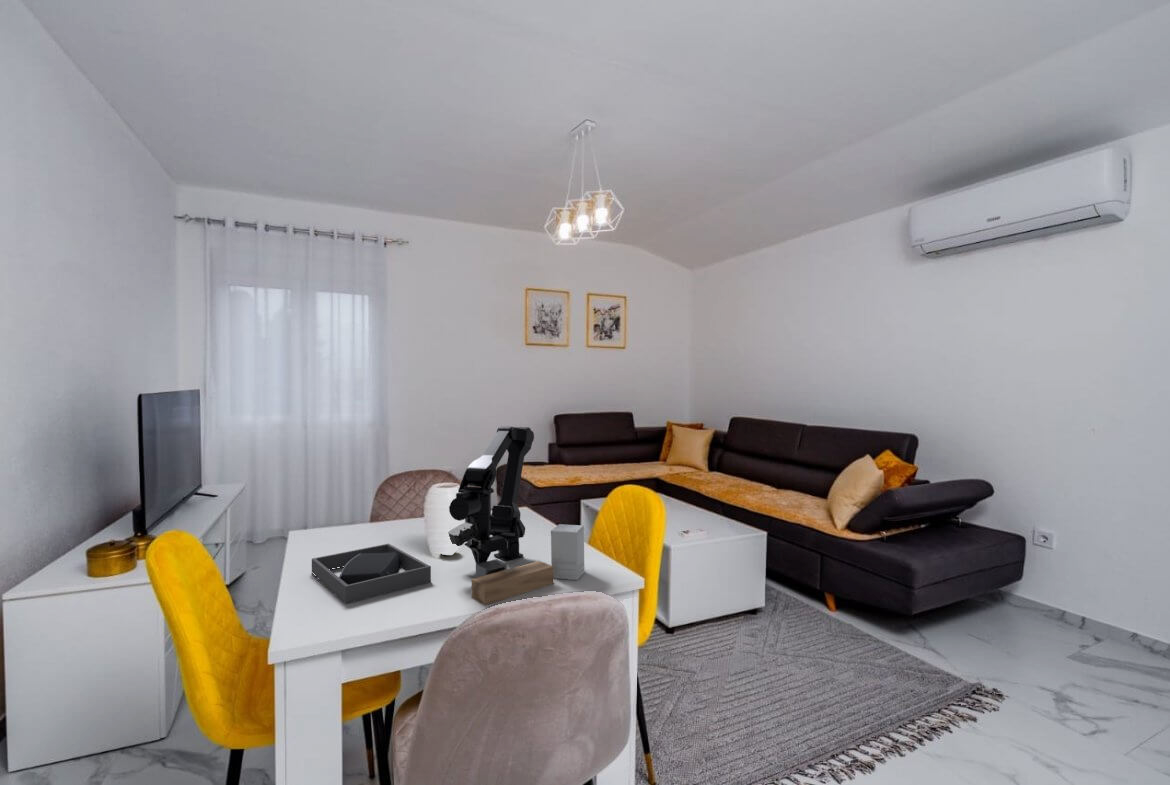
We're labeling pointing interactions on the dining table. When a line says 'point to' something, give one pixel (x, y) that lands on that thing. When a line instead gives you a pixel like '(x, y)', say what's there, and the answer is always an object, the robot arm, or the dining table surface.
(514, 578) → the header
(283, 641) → the dining table surface
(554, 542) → the supplement box
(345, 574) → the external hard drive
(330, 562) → the bumper frame
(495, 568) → the box
